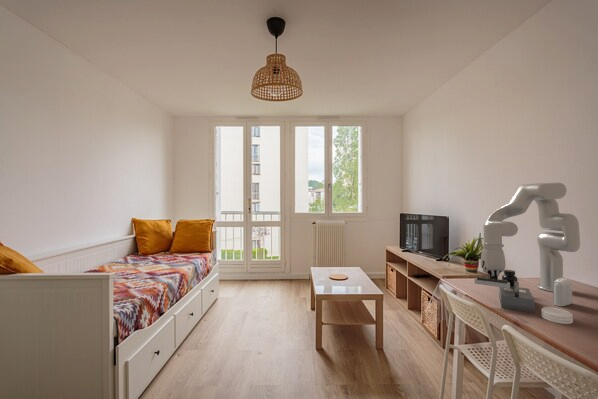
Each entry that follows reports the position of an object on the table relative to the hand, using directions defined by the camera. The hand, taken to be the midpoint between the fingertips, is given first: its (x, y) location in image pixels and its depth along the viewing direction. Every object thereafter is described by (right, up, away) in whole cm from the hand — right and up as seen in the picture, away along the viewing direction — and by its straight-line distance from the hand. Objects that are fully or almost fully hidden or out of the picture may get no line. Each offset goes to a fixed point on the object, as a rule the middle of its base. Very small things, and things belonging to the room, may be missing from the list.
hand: (493, 283), depth 143 cm
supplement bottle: (+16, -8, +10) cm, 20 cm away
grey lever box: (+7, -8, -6) cm, 12 cm away
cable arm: (-5, +1, -6) cm, 8 cm away
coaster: (+11, -9, -23) cm, 27 cm away
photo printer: (+29, -8, -7) cm, 30 cm away
